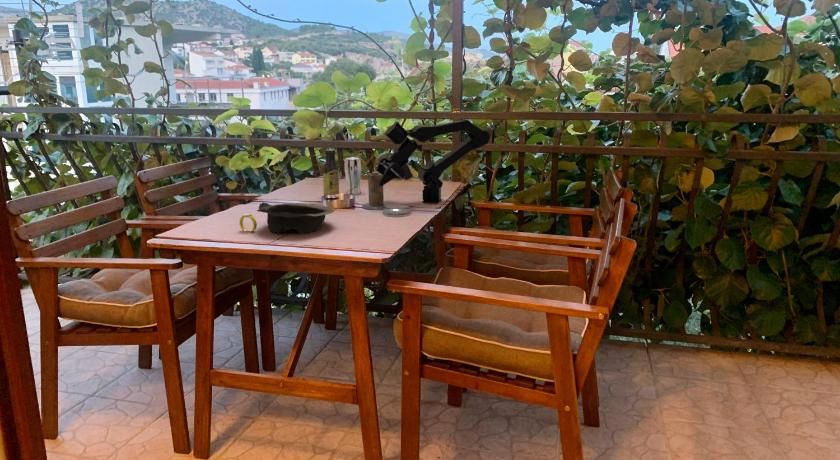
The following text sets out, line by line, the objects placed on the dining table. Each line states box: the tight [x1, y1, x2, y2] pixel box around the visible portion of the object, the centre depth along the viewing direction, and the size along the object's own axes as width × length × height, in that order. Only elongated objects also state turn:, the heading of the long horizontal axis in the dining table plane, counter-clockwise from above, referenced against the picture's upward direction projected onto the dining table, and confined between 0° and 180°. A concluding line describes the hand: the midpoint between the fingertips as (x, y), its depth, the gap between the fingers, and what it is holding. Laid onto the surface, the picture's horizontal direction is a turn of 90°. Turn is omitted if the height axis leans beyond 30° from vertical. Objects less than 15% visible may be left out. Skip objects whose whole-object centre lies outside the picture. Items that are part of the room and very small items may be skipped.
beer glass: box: [344, 156, 362, 196], centre depth 253 cm, size 7×7×15 cm
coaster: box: [361, 202, 391, 211], centre depth 231 cm, size 11×11×1 cm
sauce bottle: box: [322, 149, 340, 197], centre depth 244 cm, size 7×6×20 cm
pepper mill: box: [367, 170, 385, 207], centre depth 229 cm, size 5×5×13 cm
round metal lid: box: [382, 204, 411, 218], centre depth 219 cm, size 10×10×2 cm
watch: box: [239, 213, 258, 232], centre depth 198 cm, size 6×3×6 cm, turn 67°
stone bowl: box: [256, 201, 336, 234], centre depth 200 cm, size 25×25×9 cm
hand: (376, 183), depth 228 cm, fingers open, 9 cm apart
